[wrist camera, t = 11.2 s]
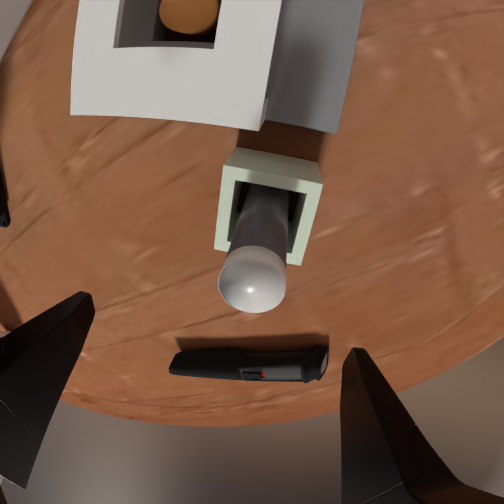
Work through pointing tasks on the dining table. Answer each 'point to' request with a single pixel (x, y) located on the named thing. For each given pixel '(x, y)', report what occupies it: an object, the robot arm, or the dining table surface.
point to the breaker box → (217, 63)
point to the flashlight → (257, 252)
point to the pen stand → (275, 175)
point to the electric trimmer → (252, 365)
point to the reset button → (190, 15)
